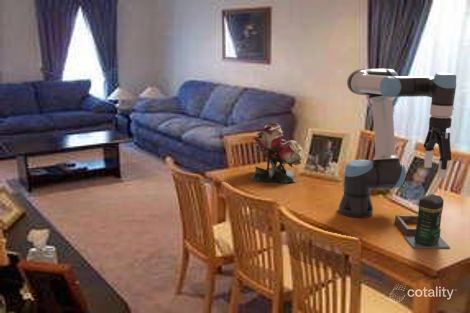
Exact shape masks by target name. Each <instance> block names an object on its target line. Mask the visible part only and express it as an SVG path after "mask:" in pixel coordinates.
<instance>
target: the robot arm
mask: <svg viewBox="0 0 470 313" xmlns="http://www.w3.org/2000/svg"><path fill="white" fill-rule="evenodd" d="M346 83H347V84H346V85H347V88H348V89H349V91H350V92H351V93H353V94H354V95H360V96H368V101H370V102H371V104H372V115H373V116H372V118H373V133H374V146H375V147H374V149H375V156H374V157H373V158H372V160H370V159H355V160H351V161H349V162H347V163H346V164H345V168H344V169H345V170H344V181H343V182H344V183H343V195H342V198H341V200H340V202H339V204H338V212H339V214H341V215H344V216H346V217H351V218H360V219H361V218H368V217H371V216H373V214H374V206H373V202H372V199H371V198H372V197H371V190H387V189H388V190H390V189H392V190H393V189H398V188H401V187H402V185H403V184H404V182H405V181H406V180H405V179H406V177H407V176H406V175H407V170H406V166H405V164H404V163H403V162H401V161H400V157H399V156H398V155H397V154H396V140H395V139H396V138H395V127H394V126H395V125H394V110H393V109H394V108H393V101H394V100H395V98H400V97H401V98H402V97H403V98H404V97H411V98H412V97H416V98H417V97H426V98H427V97H429V98H431V102H430V108H429V115H430V116H429V121H428V125H429V126H428V130H427V134H426V137H425V140H424V143H423V148H424V149H425V152H424V154H425V155H424V160H423V161H424V162H423V168H432V165H433V160H434V159H433V157H434V150H435V146H436V144H437V146H438V150H439V156H440V158H439V159H438V169H437V178H438V179H446V177H447V171H448V170H447V169H448V163H449V161H452V148H451V133H450V132H447V129H450V128H451V127H452V121H453V119H452V116H453V110H455V108H454V102H455V98H456V97H455V96H456V91H457V90H456V88H457V75H456V74H455V73H449V72H436V73H435V74H434V76H430V75H424V74H423V75H418V76H416V75H415V76H399V74H398V73H397V72H396V71H395V70H394V69H393V68H392V69H391V68H363V69H362V68H360V69H356V70H354V71H353V72H352V73H351V74H349V76H348V77H347V81H346Z"/></svg>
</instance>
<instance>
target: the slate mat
mask: <svg viewBox="0 0 470 313" xmlns="http://www.w3.org/2000/svg"><path fill="white" fill-rule="evenodd" d="M403 238H404V239H405V240H406V241H407V243H408V244H409V245H410V247H411V248H412V249H450V248H451V246H450V245H449V244H448V243H446V241H445V240H444V239H443V238H442V237H441V235H440V236H439V241H438V242H437V243H436V244H435V245H433V246H427V245H421V244H419V243H417V242H416V241H415V236H406V235H404V237H403Z"/></svg>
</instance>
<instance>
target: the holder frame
mask: <svg viewBox="0 0 470 313" xmlns="http://www.w3.org/2000/svg"><path fill="white" fill-rule="evenodd" d="M417 220H418V214H414V215H413V214H395V216H394V222H395V224H396V226H398V228H399V229H400V231H402V232H403V234H404V236H415V233H416V227H410V226H408V225H407V224H408V223H409V224H417ZM439 236H440V237H441V228H440V234H439Z"/></svg>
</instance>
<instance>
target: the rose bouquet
mask: <svg viewBox="0 0 470 313" xmlns="http://www.w3.org/2000/svg"><path fill="white" fill-rule="evenodd" d="M259 130H261V131H260V132H257V133H256V136H253V138H252V139H253V140H255V142H254V143H253V144H254V145H255V146H257V147H259V148H260V149H256V150H254V153H257V152H258V153H259V152H262V154H263V156H265V158H266V159H267V160H266V169H264V168H262V167H259V166H255V167H254V169H255V171H254V172H253V175H252V176H250V180H251V182H253V183H265V184H267V183H268V184H271V183H272V184H274V183H283V184H284V183H285V184H287V183H296V181H299V180H297V179H296V178H297V176H296V174H295V172H294V170H293V169H286V168H285V166H286V165H288V166H289V167H291V168H294V169H295V170H296V169H297V168H296V167H294V166H298V165H301V163H302V161H303V157H304V156H305V150H304V149H303V147H302V146H301V143H299V142H297V140H293V139H290V140H287V141H286V139H284V134H283V133H284V131H283V130H282V125H280V124H279V123H278V122H271V123H268V124H266V125H265V126H264V128H262V127H259ZM270 165H271V168H270Z"/></svg>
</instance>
